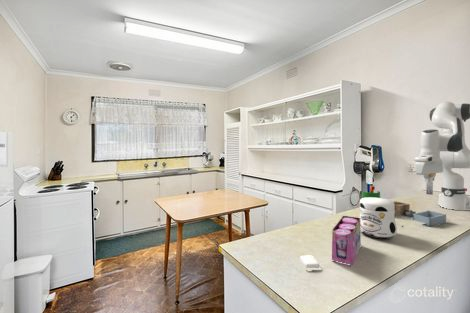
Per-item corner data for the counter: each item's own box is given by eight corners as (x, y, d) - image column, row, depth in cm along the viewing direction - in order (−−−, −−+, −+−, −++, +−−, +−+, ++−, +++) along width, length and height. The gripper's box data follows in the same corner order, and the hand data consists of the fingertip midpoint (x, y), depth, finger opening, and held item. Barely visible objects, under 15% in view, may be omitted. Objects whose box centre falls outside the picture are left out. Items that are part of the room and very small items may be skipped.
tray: (428, 218, 143) (428, 210, 143) (446, 222, 135) (446, 214, 135) (412, 222, 138) (412, 213, 138) (430, 227, 130) (430, 218, 129)
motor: (376, 213, 157) (376, 184, 156) (383, 217, 148) (383, 186, 147) (360, 213, 158) (360, 184, 157) (366, 217, 149) (366, 186, 148)
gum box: (351, 268, 91) (351, 234, 90) (330, 263, 95) (330, 230, 95) (361, 245, 110) (360, 217, 109) (343, 242, 115) (342, 215, 114)
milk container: (360, 238, 118) (360, 203, 117) (356, 227, 134) (356, 196, 133) (401, 243, 111) (401, 206, 110) (391, 230, 127) (391, 197, 126)
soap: (297, 260, 99) (297, 254, 99) (313, 260, 99) (313, 253, 99) (305, 272, 90) (304, 265, 90) (322, 271, 90) (322, 264, 90)
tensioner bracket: (396, 211, 159) (396, 200, 159) (422, 218, 144) (422, 206, 144) (384, 213, 155) (384, 202, 154) (409, 221, 140) (409, 208, 140)
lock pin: (427, 193, 138) (427, 173, 137) (435, 194, 135) (435, 173, 134) (423, 193, 137) (423, 173, 136) (431, 195, 133) (431, 174, 132)
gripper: (434, 156, 141) (434, 178, 142) (412, 158, 134) (412, 182, 134) (446, 156, 135) (446, 180, 136) (425, 158, 128) (424, 183, 129)
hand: (429, 181), depth 135 cm, fingers closed on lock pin, 3 cm apart
